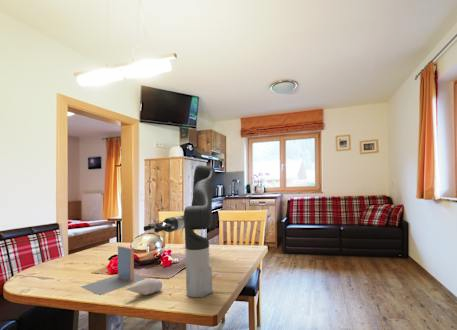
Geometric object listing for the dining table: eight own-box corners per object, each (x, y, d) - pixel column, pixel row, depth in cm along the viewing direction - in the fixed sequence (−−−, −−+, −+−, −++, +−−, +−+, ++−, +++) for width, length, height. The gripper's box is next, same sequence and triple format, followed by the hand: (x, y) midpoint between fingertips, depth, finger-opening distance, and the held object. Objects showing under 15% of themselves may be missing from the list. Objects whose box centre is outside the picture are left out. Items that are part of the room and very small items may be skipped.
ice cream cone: (122, 301, 97) (159, 295, 107) (129, 293, 94) (166, 288, 104) (120, 285, 100) (156, 281, 110) (127, 277, 98) (163, 273, 108)
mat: (148, 278, 120) (148, 277, 120) (99, 296, 102) (99, 295, 102) (127, 272, 129) (127, 271, 129) (80, 287, 112) (80, 286, 112)
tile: (133, 280, 117) (133, 247, 118) (130, 281, 116) (130, 248, 117) (121, 276, 123) (121, 245, 124) (117, 277, 122) (117, 246, 123)
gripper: (165, 216, 149) (140, 220, 136) (183, 217, 141) (158, 222, 128) (165, 229, 149) (140, 235, 136) (183, 232, 140) (158, 238, 127)
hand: (149, 229), depth 132 cm, fingers open, 8 cm apart
